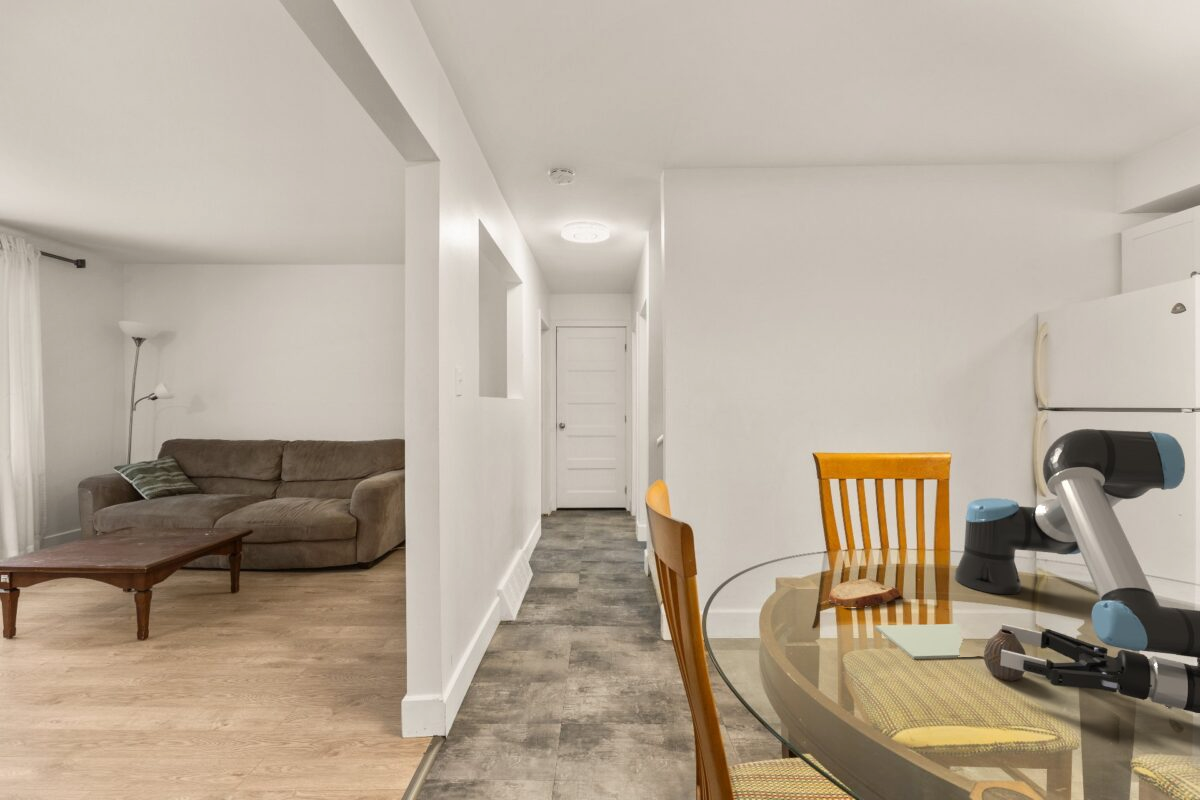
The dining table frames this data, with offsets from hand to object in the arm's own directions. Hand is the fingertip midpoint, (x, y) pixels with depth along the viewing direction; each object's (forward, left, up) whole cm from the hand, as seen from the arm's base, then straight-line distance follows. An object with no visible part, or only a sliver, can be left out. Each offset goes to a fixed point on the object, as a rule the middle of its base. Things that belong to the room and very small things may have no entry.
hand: (1000, 643), depth 116 cm
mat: (+3, -14, -6) cm, 15 cm away
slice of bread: (+6, -38, -7) cm, 39 cm away
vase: (-1, 0, -7) cm, 7 cm away
